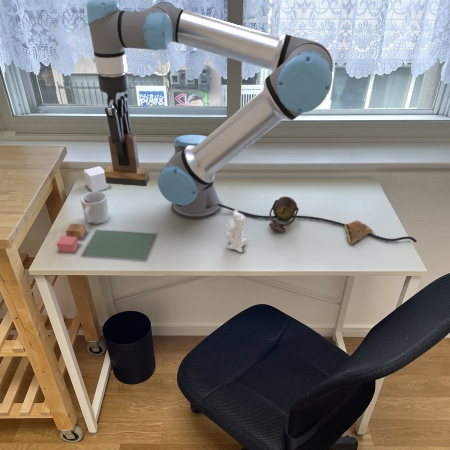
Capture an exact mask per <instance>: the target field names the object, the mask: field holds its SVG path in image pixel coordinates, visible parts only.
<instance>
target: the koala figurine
mask: <svg viewBox="0 0 450 450" xmlns="http://www.w3.org/2000/svg"><path fill="white" fill-rule="evenodd" d="M237 210H238V209H236V210H233V211H232V214H231V215H232V218H231V219H230V220H229V221H228V222H227V223H226V224H225V226H224V229H223V235H224V238H225V239H226V240H228V241H229V244H228V245H227V246H226V248H227V249H230V250H235V251H237V252H239V253H243V249H242V248H243V246H244V245H245V243H247V241H248V239H247V238H246V237H243V230H244V229H243V225H244V224H245V223H246V222H247V221H248V220H247V219H246V215H244V214H241V213H238V211H237Z"/></svg>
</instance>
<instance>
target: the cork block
mask: <svg viewBox="0 0 450 450" xmlns="http://www.w3.org/2000/svg"><path fill="white" fill-rule="evenodd" d="M65 234H66V236H70V237H77V240H83V239H84V237H85V235H86V234H87V228H86V224H85V223H84V224H83V223H69V225H68V226H67V228H66V229H65Z"/></svg>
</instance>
